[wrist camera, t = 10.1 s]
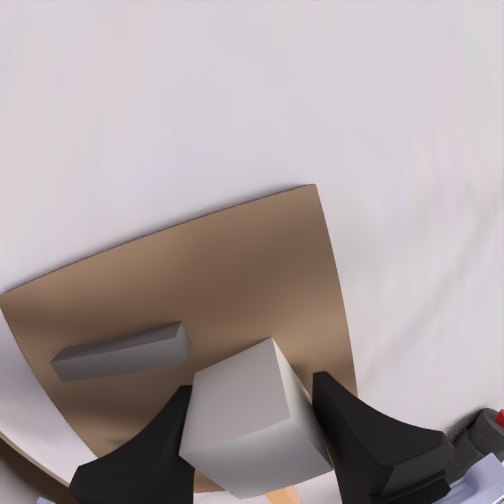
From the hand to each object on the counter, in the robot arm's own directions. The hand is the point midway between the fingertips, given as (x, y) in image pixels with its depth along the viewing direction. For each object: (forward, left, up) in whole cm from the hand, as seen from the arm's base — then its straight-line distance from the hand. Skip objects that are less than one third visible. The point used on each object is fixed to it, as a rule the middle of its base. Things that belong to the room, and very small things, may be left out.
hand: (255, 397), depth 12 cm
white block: (0, 0, -1) cm, 1 cm away
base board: (+1, -4, -2) cm, 5 cm away
